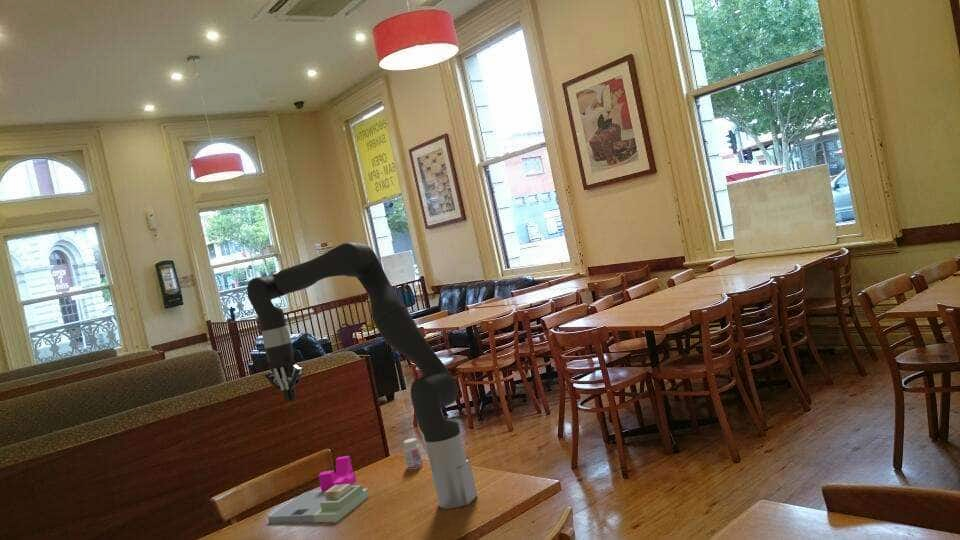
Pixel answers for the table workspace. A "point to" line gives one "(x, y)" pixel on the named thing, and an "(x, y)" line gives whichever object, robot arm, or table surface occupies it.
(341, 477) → the toy block
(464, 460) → the robot arm
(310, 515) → the board
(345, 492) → the birch block
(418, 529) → the table surface
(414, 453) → the pill bottle
